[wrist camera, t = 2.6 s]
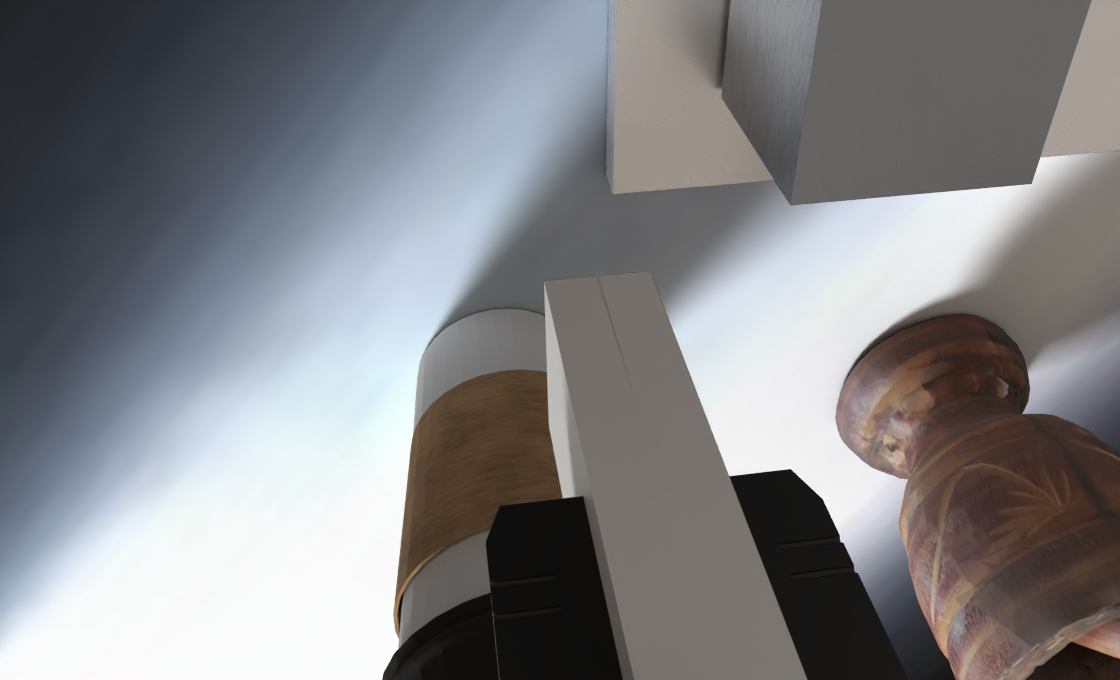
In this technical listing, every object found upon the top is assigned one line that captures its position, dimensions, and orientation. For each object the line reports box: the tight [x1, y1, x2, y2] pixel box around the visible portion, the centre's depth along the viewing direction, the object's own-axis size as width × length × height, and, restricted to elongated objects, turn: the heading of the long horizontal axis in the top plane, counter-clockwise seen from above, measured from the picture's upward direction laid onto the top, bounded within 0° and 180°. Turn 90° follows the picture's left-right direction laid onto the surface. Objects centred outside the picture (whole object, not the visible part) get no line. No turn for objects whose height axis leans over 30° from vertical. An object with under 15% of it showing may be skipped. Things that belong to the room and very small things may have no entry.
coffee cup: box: [382, 308, 563, 680], centre depth 29 cm, size 8×8×15 cm
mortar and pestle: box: [835, 315, 1120, 680], centre depth 29 cm, size 12×9×20 cm
